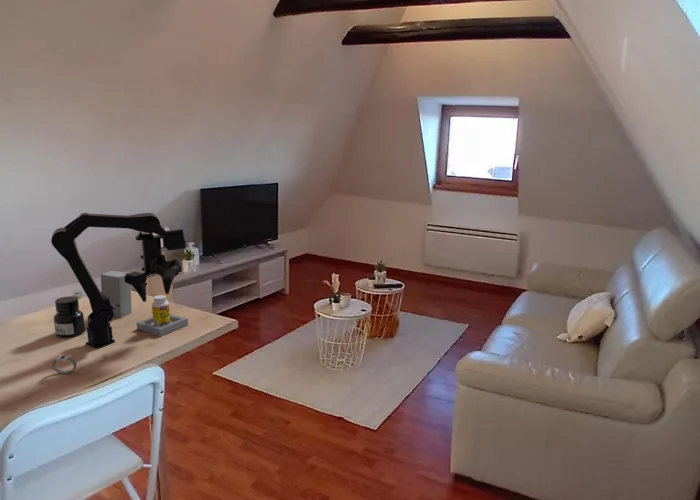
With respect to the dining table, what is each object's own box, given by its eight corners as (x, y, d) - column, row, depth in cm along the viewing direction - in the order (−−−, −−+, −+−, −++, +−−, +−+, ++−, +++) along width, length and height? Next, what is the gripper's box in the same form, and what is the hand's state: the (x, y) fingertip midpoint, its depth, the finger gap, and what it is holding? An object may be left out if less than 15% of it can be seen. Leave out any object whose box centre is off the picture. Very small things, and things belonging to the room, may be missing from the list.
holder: (160, 336, 178) (160, 329, 177) (136, 329, 184) (136, 322, 183) (188, 324, 188) (187, 318, 187) (164, 318, 194) (164, 312, 193)
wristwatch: (79, 370, 154) (77, 354, 152) (74, 375, 151) (72, 359, 150) (57, 371, 153) (55, 354, 152) (52, 375, 151) (50, 359, 149)
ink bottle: (49, 334, 178) (44, 301, 175) (73, 326, 186) (69, 293, 183) (67, 340, 174) (63, 306, 171) (91, 331, 182) (87, 298, 179)
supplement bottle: (161, 328, 182) (158, 300, 179) (150, 325, 185) (147, 297, 182) (174, 323, 186) (171, 296, 184) (163, 320, 189) (160, 293, 187)
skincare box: (102, 316, 196) (97, 274, 192) (115, 309, 202) (111, 269, 198) (121, 318, 193) (117, 276, 189) (134, 312, 200) (130, 271, 196)
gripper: (145, 262, 161) (149, 310, 165) (191, 249, 177) (194, 294, 180) (121, 257, 167) (125, 304, 170) (168, 245, 182) (171, 288, 186)
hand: (156, 297), depth 177 cm, fingers open, 9 cm apart
